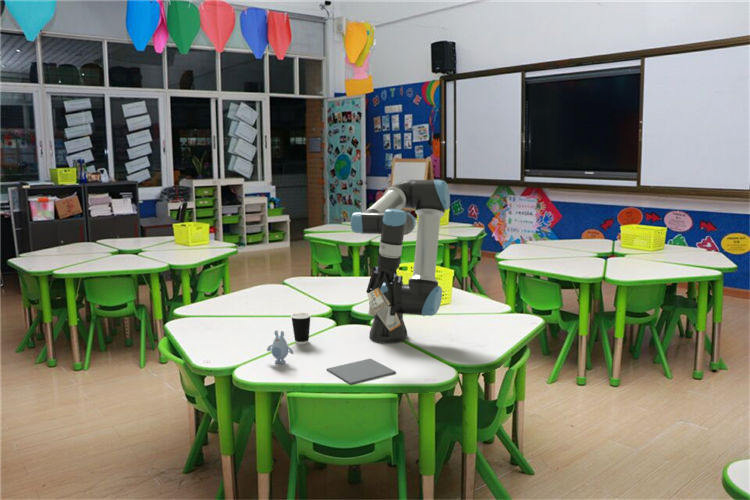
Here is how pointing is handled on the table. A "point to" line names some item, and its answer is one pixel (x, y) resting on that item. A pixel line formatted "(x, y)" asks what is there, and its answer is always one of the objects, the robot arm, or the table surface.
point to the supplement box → (382, 308)
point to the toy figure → (280, 348)
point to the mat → (360, 371)
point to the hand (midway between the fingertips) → (380, 319)
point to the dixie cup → (301, 327)
